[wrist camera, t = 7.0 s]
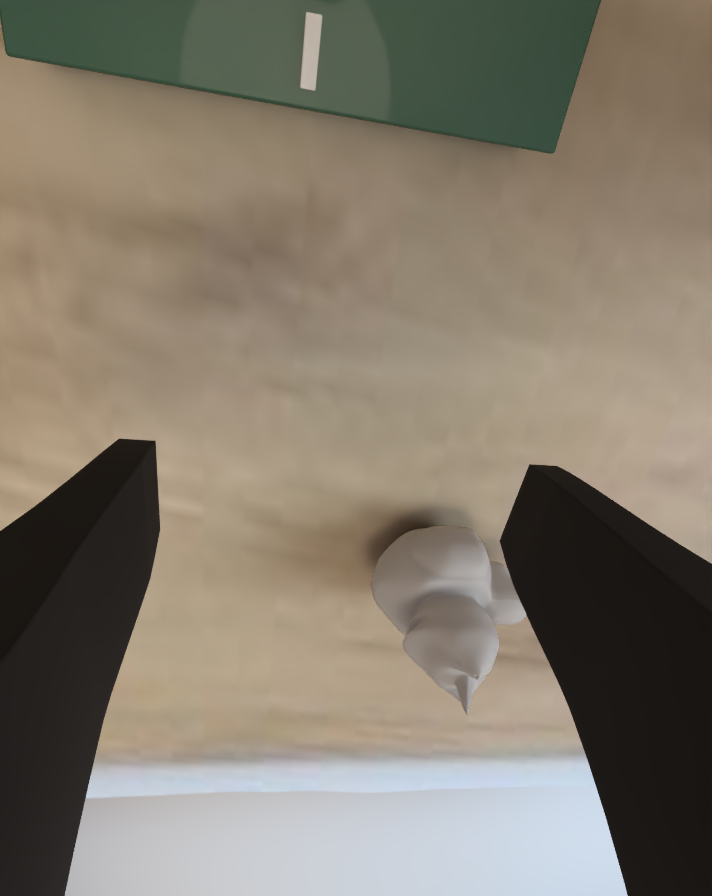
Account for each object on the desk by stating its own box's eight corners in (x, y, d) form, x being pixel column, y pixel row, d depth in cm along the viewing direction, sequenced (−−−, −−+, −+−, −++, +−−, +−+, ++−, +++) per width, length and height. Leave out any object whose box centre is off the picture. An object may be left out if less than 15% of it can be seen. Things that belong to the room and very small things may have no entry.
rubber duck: (376, 499, 23) (417, 665, 16) (519, 508, 24) (613, 665, 17) (355, 589, 25) (382, 762, 19) (484, 592, 27) (553, 755, 20)
